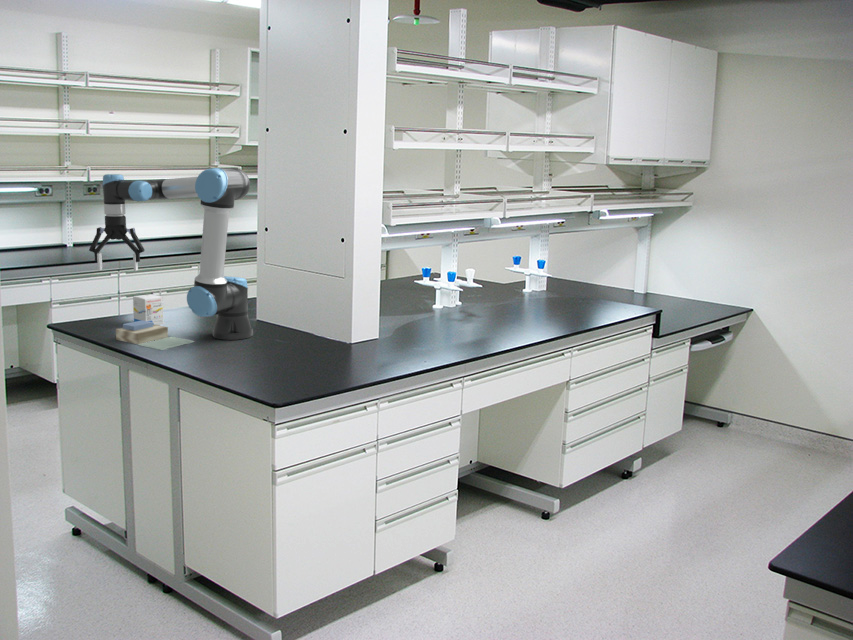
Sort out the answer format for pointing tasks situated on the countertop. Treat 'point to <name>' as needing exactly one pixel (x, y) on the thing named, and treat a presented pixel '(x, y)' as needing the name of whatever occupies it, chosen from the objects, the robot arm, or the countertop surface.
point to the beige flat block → (142, 334)
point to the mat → (166, 343)
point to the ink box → (148, 308)
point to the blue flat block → (137, 325)
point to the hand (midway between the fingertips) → (118, 270)
